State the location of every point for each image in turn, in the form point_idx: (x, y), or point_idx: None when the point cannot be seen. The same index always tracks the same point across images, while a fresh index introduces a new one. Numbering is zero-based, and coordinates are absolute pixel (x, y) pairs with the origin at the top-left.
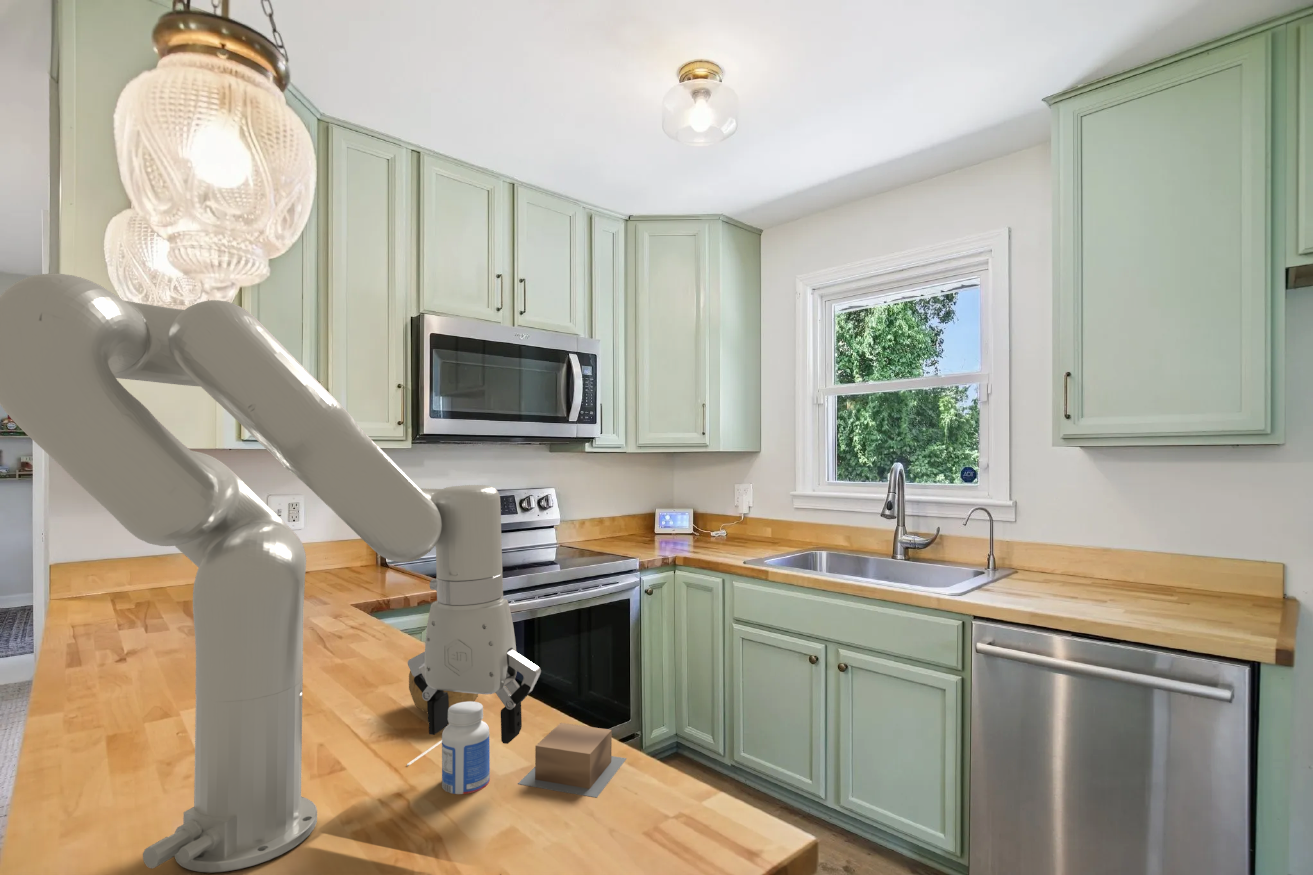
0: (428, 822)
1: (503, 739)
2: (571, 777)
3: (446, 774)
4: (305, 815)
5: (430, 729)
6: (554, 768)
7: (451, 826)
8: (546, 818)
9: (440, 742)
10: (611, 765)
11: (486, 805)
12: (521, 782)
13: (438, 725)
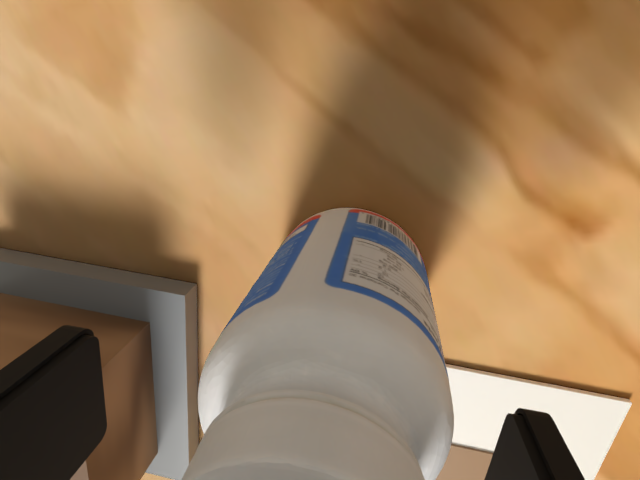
0: (383, 66)
1: (65, 334)
2: (23, 313)
3: (386, 244)
4: None
5: (547, 430)
6: None
7: (293, 60)
8: (55, 165)
9: None
10: None
11: (247, 203)
12: (176, 302)
13: (509, 467)
